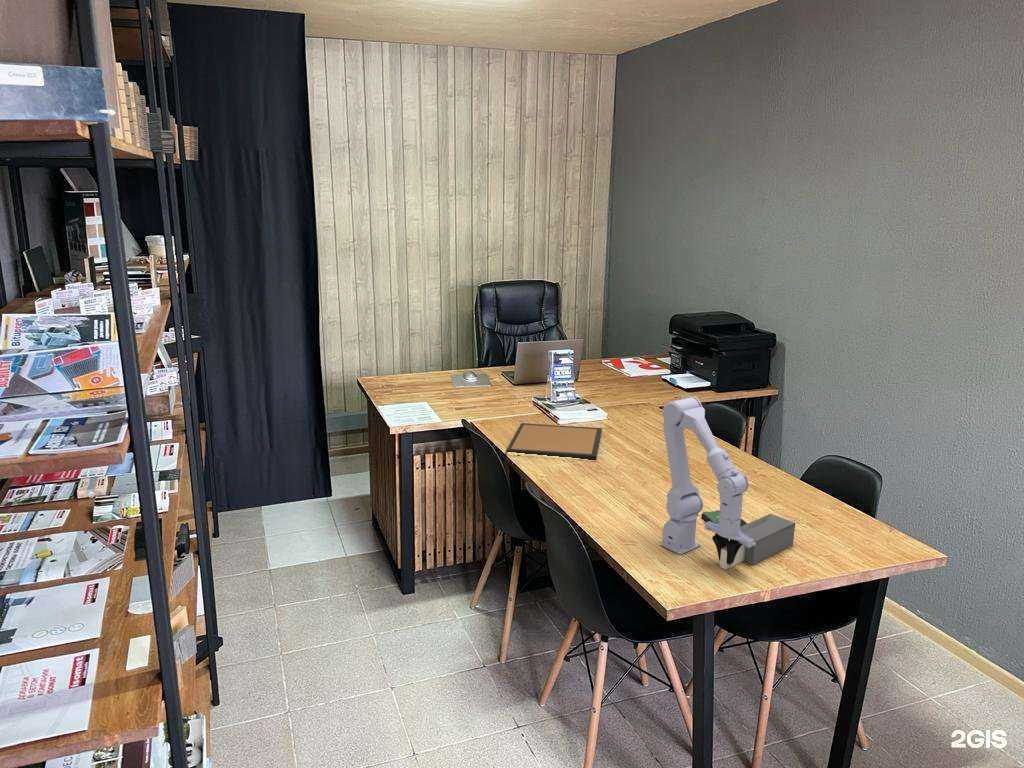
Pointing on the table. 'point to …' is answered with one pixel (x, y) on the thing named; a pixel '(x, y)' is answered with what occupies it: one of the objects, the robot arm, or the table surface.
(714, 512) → the disk drive
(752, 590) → the table surface
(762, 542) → the dispenser
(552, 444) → the cork board
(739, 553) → the cream rectangular block
